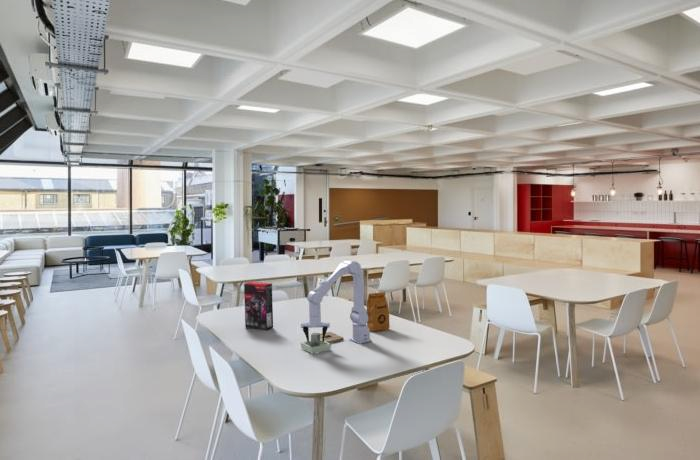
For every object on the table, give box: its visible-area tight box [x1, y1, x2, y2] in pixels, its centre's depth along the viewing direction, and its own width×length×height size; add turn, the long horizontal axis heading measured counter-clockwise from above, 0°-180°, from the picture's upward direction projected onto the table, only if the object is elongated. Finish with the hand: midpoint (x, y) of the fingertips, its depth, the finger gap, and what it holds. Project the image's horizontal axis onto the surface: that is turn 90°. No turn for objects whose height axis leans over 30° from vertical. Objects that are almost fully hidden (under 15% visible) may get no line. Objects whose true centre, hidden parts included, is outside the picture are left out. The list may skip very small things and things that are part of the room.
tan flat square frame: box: [320, 331, 344, 344], centre depth 235 cm, size 14×12×2 cm
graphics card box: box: [243, 281, 274, 331], centre depth 258 cm, size 17×7×27 cm, turn 62°
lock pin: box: [310, 332, 321, 347], centre depth 219 cm, size 4×4×7 cm
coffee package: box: [366, 291, 391, 332], centre depth 251 cm, size 10×12×22 cm
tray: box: [300, 339, 332, 355], centre depth 219 cm, size 11×11×3 cm
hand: (315, 341), depth 219 cm, fingers open, 7 cm apart
